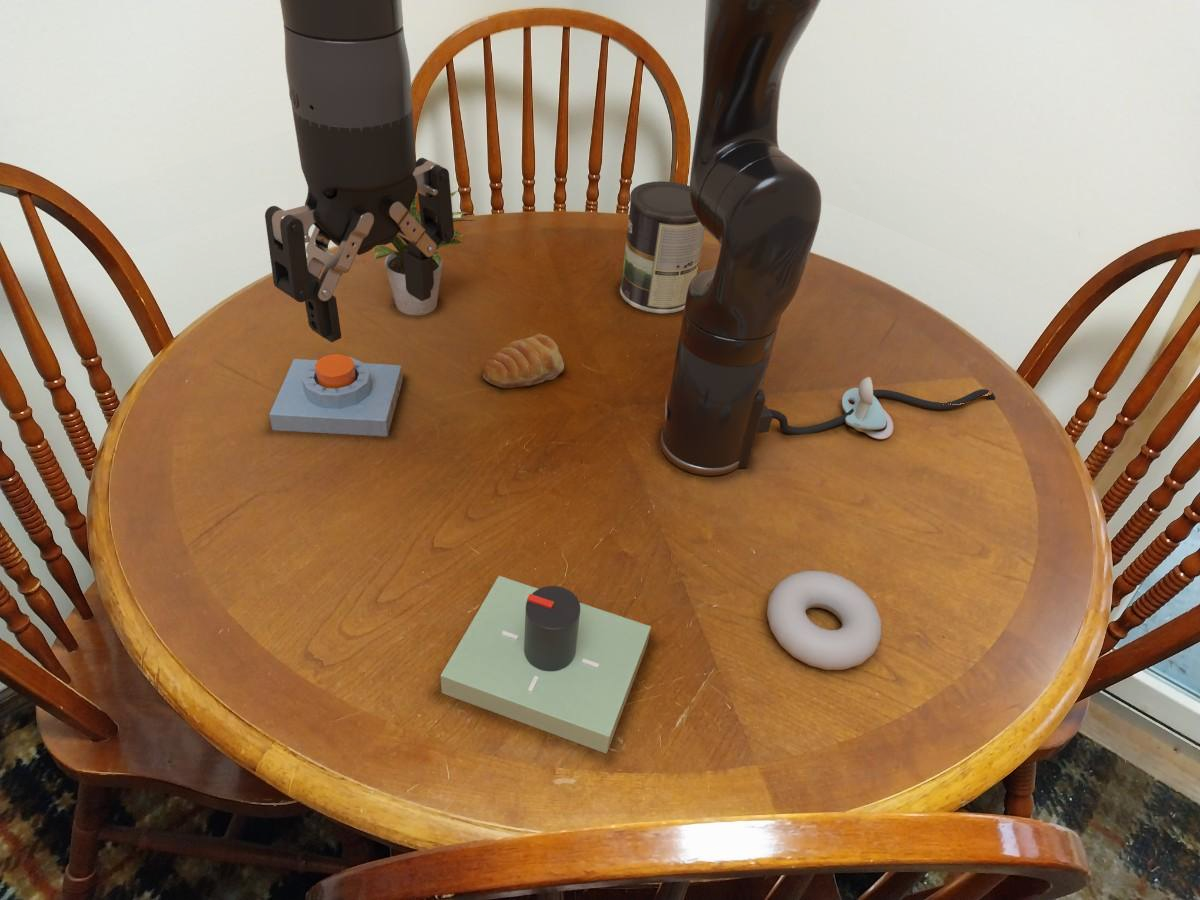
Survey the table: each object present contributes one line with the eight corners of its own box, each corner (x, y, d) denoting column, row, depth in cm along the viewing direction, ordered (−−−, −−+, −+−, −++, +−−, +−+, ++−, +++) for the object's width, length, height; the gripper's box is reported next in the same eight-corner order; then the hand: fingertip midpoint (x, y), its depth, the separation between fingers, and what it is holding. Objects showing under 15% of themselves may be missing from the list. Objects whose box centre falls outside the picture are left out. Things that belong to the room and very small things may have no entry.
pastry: (502, 401, 96) (502, 374, 94) (470, 371, 100) (470, 344, 98) (568, 375, 101) (570, 348, 99) (535, 348, 105) (536, 321, 102)
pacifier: (885, 408, 102) (836, 401, 102) (903, 366, 98) (852, 358, 98) (896, 447, 96) (844, 440, 96) (916, 405, 92) (862, 397, 92)
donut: (839, 700, 70) (895, 629, 76) (851, 677, 68) (907, 606, 74) (741, 630, 75) (800, 568, 81) (748, 606, 73) (809, 544, 79)
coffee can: (610, 303, 114) (620, 205, 105) (631, 269, 122) (643, 174, 112) (683, 321, 112) (701, 223, 103) (701, 285, 120) (718, 190, 110)
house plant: (420, 354, 102) (412, 229, 91) (333, 316, 106) (315, 192, 95) (490, 304, 111) (490, 186, 101) (407, 271, 116) (399, 154, 105)
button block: (402, 380, 98) (400, 352, 95) (387, 436, 90) (384, 407, 87) (296, 374, 97) (291, 345, 94) (272, 430, 89) (265, 400, 87)
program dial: (583, 637, 70) (588, 593, 66) (564, 678, 67) (569, 634, 63) (535, 621, 71) (538, 576, 67) (515, 661, 67) (517, 616, 64)
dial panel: (647, 643, 73) (651, 624, 71) (606, 754, 65) (609, 735, 63) (498, 593, 76) (498, 574, 74) (441, 693, 68) (440, 674, 66)
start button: (359, 368, 93) (357, 355, 92) (351, 390, 90) (349, 377, 89) (322, 366, 92) (319, 352, 91) (313, 388, 89) (310, 374, 88)
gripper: (291, 145, 48) (327, 374, 59) (474, 93, 57) (477, 302, 68) (217, 107, 52) (265, 330, 62) (401, 63, 60) (415, 266, 71)
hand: (375, 315), depth 65 cm, fingers open, 8 cm apart
